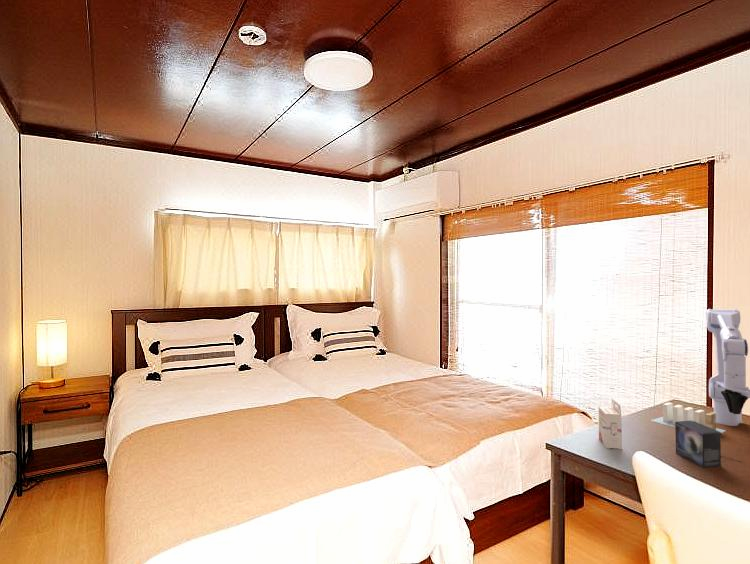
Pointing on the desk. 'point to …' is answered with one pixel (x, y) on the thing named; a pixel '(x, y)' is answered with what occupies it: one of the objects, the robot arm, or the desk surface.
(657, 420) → the domino board
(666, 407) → the tile
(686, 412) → the tile
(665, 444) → the desk surface
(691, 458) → the small box
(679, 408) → the tile
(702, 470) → the desk surface
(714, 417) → the tile
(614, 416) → the ink cartridge box
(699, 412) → the tile
